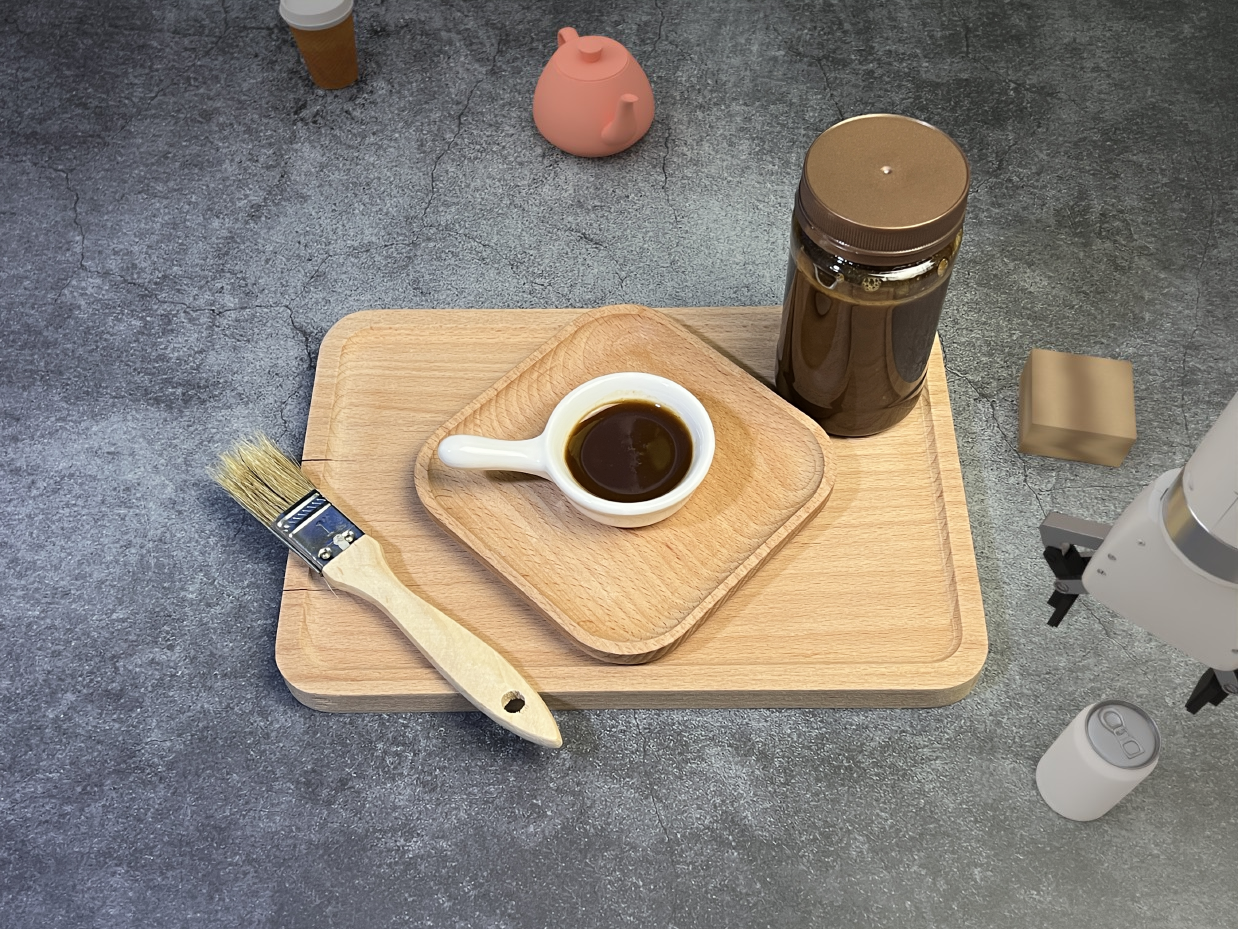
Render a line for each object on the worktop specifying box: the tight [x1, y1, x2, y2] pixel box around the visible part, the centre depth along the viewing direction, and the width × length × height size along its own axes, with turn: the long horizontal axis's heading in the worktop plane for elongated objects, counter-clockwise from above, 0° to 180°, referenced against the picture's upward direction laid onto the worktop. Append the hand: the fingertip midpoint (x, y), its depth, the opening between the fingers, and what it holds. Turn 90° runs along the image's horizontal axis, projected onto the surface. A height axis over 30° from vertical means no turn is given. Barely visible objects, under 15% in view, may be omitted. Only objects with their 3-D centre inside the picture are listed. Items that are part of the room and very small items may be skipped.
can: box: [1035, 698, 1163, 822], centre depth 88 cm, size 6×6×12 cm
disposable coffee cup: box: [278, 0, 360, 90], centre depth 146 cm, size 10×10×12 cm
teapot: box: [532, 26, 656, 158], centre depth 138 cm, size 22×16×12 cm
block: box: [1017, 347, 1138, 468], centre depth 113 cm, size 10×10×5 cm
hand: (1127, 652), depth 73 cm, fingers open, 9 cm apart
